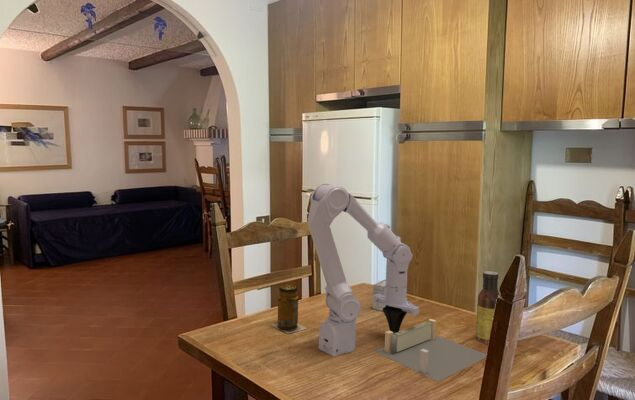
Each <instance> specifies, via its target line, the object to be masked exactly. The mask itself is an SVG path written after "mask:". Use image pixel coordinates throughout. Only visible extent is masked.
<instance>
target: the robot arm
mask: <svg viewBox="0 0 635 400" xmlns="http://www.w3.org/2000/svg"><path fill="white" fill-rule="evenodd" d="M309 207H310V208H309V211H308V212H309V213H308V216H307V227H308V229H309V233H310V235H311V239H312V241H313V245H314V248H315V252H316V255H317V257H318V262H319V265H320V268H321V271H322V275H323V277H324V279H325V283H326V286H325V287H324V290H325V293H326V294H325V305H326V306H327V308H328V309H329V312H328V317H327V319H326V320H324V321H322V322H321V323H320V325H319V328H318V349H319V350H320V351H322V352H324V353H326V354H328V355H330V356H332V357H336V356H339V355H341V354H347V353H351V352H353V351H355V349H356V333H357V330H356V329H357V328H356V327H357V318H358V316H360V314H361V307H362V306H361V303H360V301H359V300H358V299H357V298H356V297H355V296H354V293H353V290H352V288H351V287H350V285H349V284H348V281H347V279H346V276H345V273H344V269H343V267H342V263H341V259H340V256H339V255H340V254H339V253H338V249H337V246H336V243H335V238H334V237H333V232H332V230H331V225H332V223H333V222H334V220H335V218H337V216H339V215H340V214H342V212H343V213H347V214H348V215H349V216H350V217H352V218H353V219H354V220H355V221H356V222H357V223H358V224H359V225H360V226H361V227H363V229H365V230H366V231H367V235H366V236H367V239H368V240H369V241H370V242H371V243H372V244H373V245H374V246H376V248H377V249H378V250H379V251H381V252H382V256H383V258H385V259H386V267H385V280H386V291H385V295H382V294H375V295H374V301H375V302H380V303H383V304H386V307H385V308H383V311H382V312H383V314H384V316H385V318H386V320H387V321H386V322H387V324H388V328H389V331H392V332H393V334H394V333H397V332H400V329H401V325H402V323H403V320H404V318H405V317H406V316H407V314H408V313H409V314H411V316H417V315H419V314H420V307H419V306H416V305H414V304H413V303H411V302H409V301H408V298H407V293H408V292H407V289H408V288H407V286H408V270H409V264H410V262H412V260H413V256H414V255H413V253H412V251H411V248H410V246H409V245H407V244H406V243H403V242H401V240H402V237H400V236H399V235H396V234H395V233H394V232H393V231H392V230H391V226H390V225H389V224H387V223H385V222H377V221H376V220H375V219H374V218H373V217H372V216H371V215H370V213H369V212H368V211H367V210H366V209H365V208H364V207H363V206H362V204H361V203H360V202H359V201H358V200H357V199H356V198H355V197H354V195H352V194H351V193H349V192H348V191H347V189H346V188H344V187H342V186H338V185H336V186H335V185H331V184H328V183H321V184H319V185H318V186H317V187H316V188H315V189H314V191H313V192H312V194H311V196H310V206H309Z"/></svg>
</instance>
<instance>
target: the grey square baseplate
mask: <svg viewBox="0 0 635 400" xmlns="http://www.w3.org/2000/svg"><path fill="white" fill-rule="evenodd" d="M427 320H428V321H427V322H430V323H432V324H431V339H429V340H427V341H424V342H422V343H419V344H417V345H414V346H412V347H409V348H407V349H404V350H402V351H399V352H396V351H395V353H392V352H391V348H392V334H393V332H392V331H390V330H386V331H385V332H384V347H381V348H378V349H376V350H374V352H375V353H376V354H378V355H381V356H383V357H385V358H387V359H389V360H391V361H393V362H396V363H398V364H400V365H401V366H404V367H406V368H408V369H410V370H412V371H414V372H417V373H418V374H421V375H423V376H426V377H427V378H429V379H431V380H433V381H435V382H437V383H438V382H441V381H442V380H444V379H446V378H448V377H450V376H453V375H454V374H456V373H458V372H460V371H463V370H464V369H467V368H468V367H470V366H473V365H475V364H477V363H478V362H481V361H483V360H484V359H486V354H487V353H485V352H481V351H478V350H476V349H474V348H471V347H469V346H467V345H466V346H465V345H464V344H460V343H458V342H455V341H453V340H451V339H448V338H445V337H443V336H440V335H437V320H436V319H432V318H429V319H427Z"/></svg>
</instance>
